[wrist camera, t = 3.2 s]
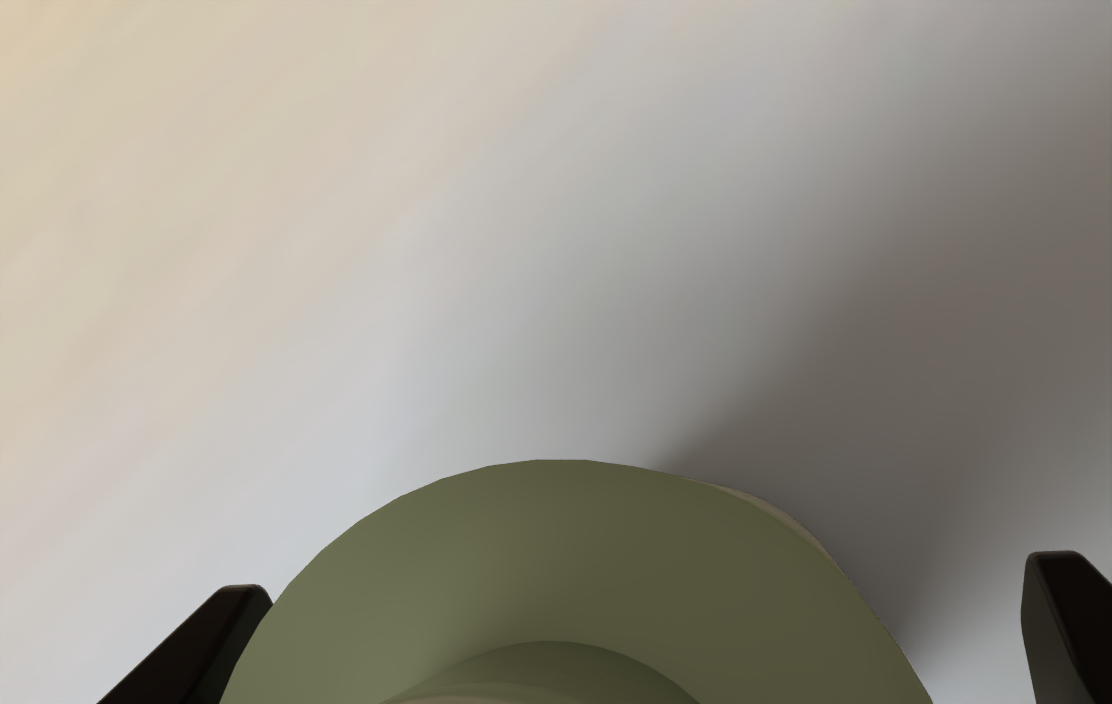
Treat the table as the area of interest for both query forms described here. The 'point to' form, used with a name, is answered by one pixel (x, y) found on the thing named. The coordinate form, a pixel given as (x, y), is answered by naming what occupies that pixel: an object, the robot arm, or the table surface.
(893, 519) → the table surface
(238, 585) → the robot arm
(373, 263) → the table surface
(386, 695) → the olive bottle
